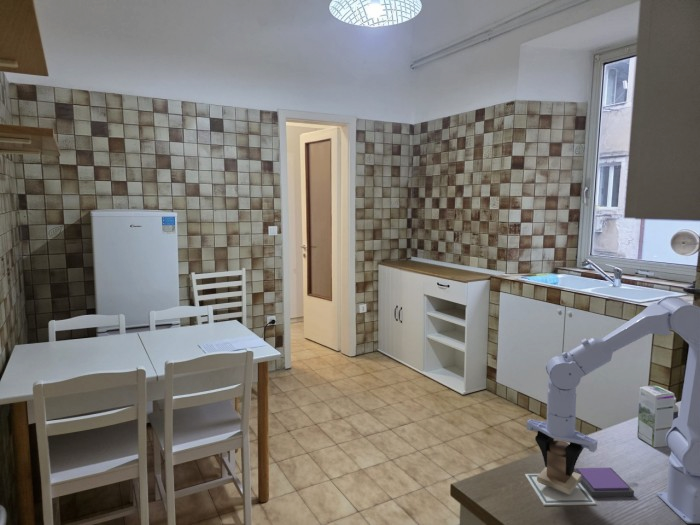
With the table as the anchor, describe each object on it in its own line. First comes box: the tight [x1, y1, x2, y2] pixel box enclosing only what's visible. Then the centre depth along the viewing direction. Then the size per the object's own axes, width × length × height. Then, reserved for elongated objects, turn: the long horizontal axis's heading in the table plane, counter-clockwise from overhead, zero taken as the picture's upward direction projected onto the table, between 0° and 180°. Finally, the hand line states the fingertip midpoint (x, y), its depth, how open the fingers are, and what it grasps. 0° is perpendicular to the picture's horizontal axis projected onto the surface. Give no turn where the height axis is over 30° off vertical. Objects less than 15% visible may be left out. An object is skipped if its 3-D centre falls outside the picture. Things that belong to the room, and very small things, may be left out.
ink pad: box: [573, 467, 635, 498], centre depth 104 cm, size 9×9×2 cm
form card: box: [524, 473, 597, 506], centre depth 102 cm, size 11×11×1 cm
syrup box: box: [636, 384, 675, 448], centre depth 120 cm, size 6×6×14 cm
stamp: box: [537, 439, 581, 495], centre depth 102 cm, size 7×7×9 cm
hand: (559, 469), depth 102 cm, fingers closed on stamp, 4 cm apart
